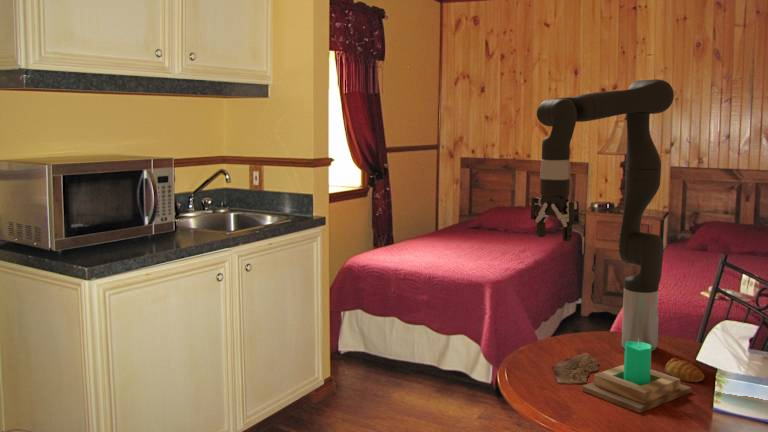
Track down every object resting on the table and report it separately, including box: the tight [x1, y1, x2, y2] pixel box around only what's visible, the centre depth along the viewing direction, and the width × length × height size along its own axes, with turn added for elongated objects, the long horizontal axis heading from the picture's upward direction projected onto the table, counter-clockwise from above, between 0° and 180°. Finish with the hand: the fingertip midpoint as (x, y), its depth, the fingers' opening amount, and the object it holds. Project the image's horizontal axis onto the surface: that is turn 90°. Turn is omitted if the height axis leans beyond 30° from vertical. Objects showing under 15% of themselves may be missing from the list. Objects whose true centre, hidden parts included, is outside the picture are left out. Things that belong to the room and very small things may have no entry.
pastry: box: [664, 357, 705, 383], centre depth 176 cm, size 9×7×4 cm
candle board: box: [581, 364, 692, 414], centre depth 167 cm, size 20×16×4 cm
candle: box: [623, 339, 652, 386], centre depth 166 cm, size 6×6×12 cm
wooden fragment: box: [551, 352, 601, 386], centre depth 183 cm, size 26×11×1 cm, turn 147°
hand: (553, 238), depth 181 cm, fingers open, 8 cm apart
